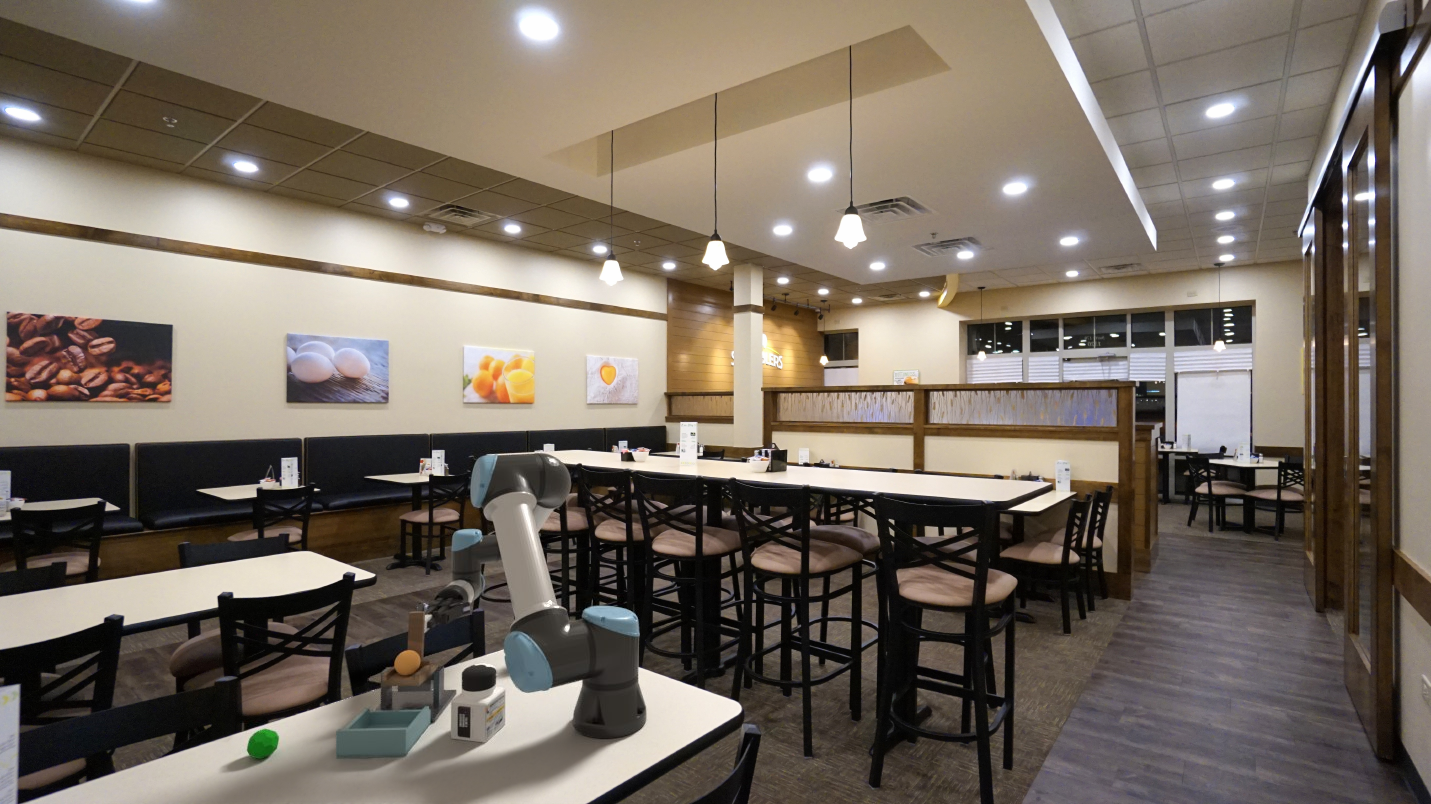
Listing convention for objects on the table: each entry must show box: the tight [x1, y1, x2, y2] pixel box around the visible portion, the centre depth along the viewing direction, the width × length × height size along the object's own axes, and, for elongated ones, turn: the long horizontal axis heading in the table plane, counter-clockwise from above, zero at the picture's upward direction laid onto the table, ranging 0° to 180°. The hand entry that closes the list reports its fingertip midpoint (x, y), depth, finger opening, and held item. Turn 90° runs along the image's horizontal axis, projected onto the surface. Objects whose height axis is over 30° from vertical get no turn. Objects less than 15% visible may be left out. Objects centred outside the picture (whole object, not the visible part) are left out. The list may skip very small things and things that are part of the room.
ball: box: [394, 649, 420, 676], centre depth 140 cm, size 5×5×5 cm
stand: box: [374, 665, 457, 724], centre depth 143 cm, size 14×14×8 cm
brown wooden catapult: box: [382, 611, 439, 692], centre depth 142 cm, size 12×9×17 cm
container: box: [450, 662, 506, 743], centre depth 133 cm, size 8×8×13 cm
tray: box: [335, 706, 431, 759], centre depth 129 cm, size 13×13×5 cm
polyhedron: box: [246, 728, 280, 760], centre depth 123 cm, size 5×5×5 cm
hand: (417, 630), depth 145 cm, fingers closed
